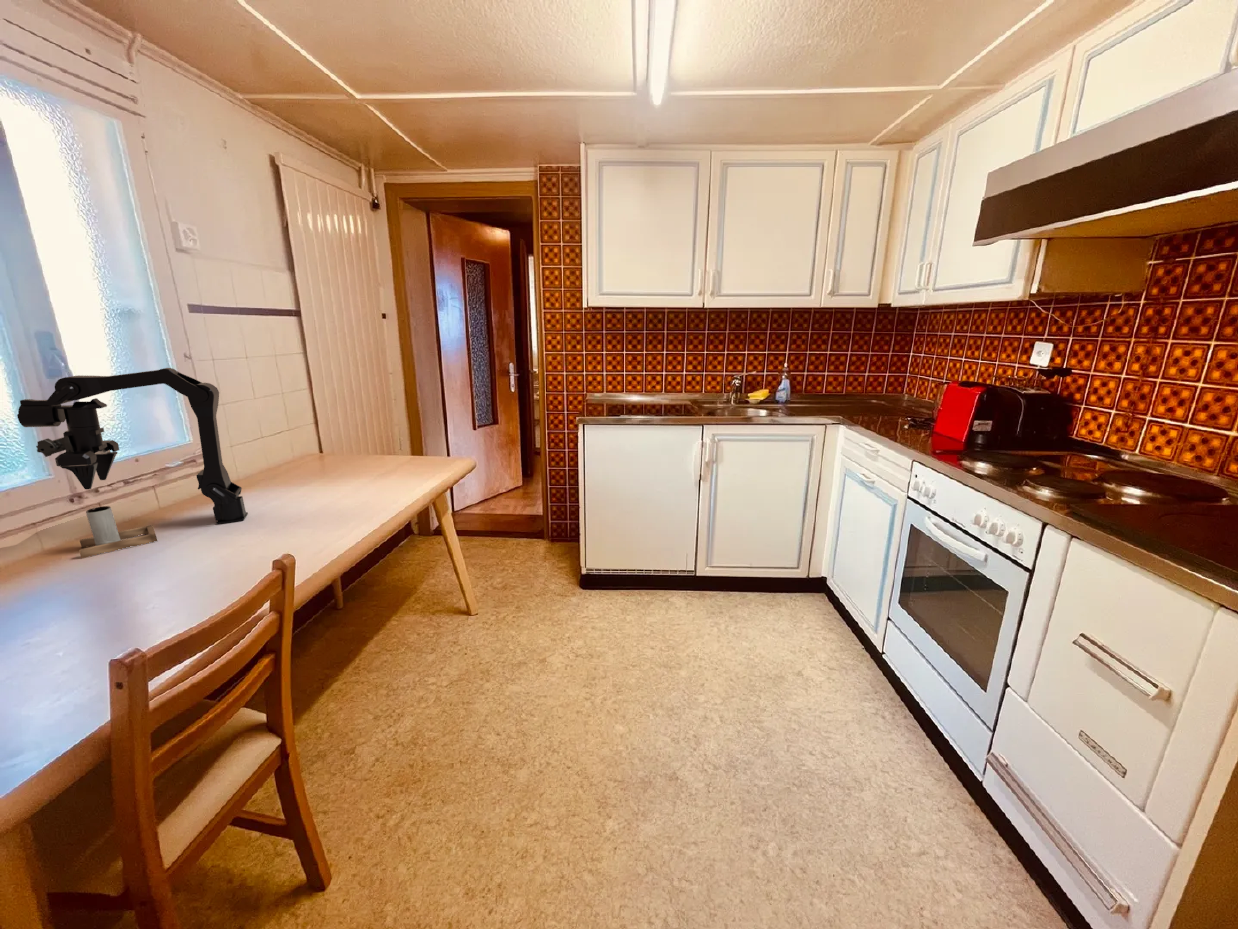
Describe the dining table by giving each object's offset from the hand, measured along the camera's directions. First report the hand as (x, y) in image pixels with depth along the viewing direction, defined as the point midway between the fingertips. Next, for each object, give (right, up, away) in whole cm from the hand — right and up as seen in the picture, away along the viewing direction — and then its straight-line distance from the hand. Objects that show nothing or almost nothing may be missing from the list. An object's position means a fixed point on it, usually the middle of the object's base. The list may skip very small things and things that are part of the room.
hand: (95, 484), depth 132 cm
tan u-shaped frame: (+7, -16, -1) cm, 17 cm away
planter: (+6, -16, -2) cm, 17 cm away
